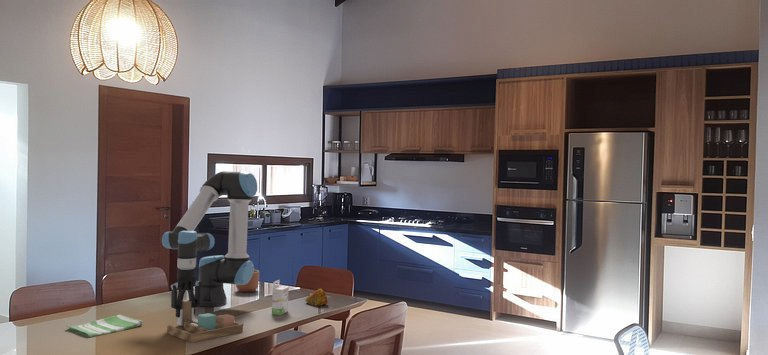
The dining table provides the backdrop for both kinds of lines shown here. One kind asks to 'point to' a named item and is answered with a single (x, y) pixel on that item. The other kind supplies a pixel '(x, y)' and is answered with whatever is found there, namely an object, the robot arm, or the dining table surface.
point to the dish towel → (106, 326)
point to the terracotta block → (225, 320)
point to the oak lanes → (203, 331)
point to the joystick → (204, 320)
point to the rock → (317, 298)
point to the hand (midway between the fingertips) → (185, 323)
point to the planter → (250, 283)
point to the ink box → (279, 299)
